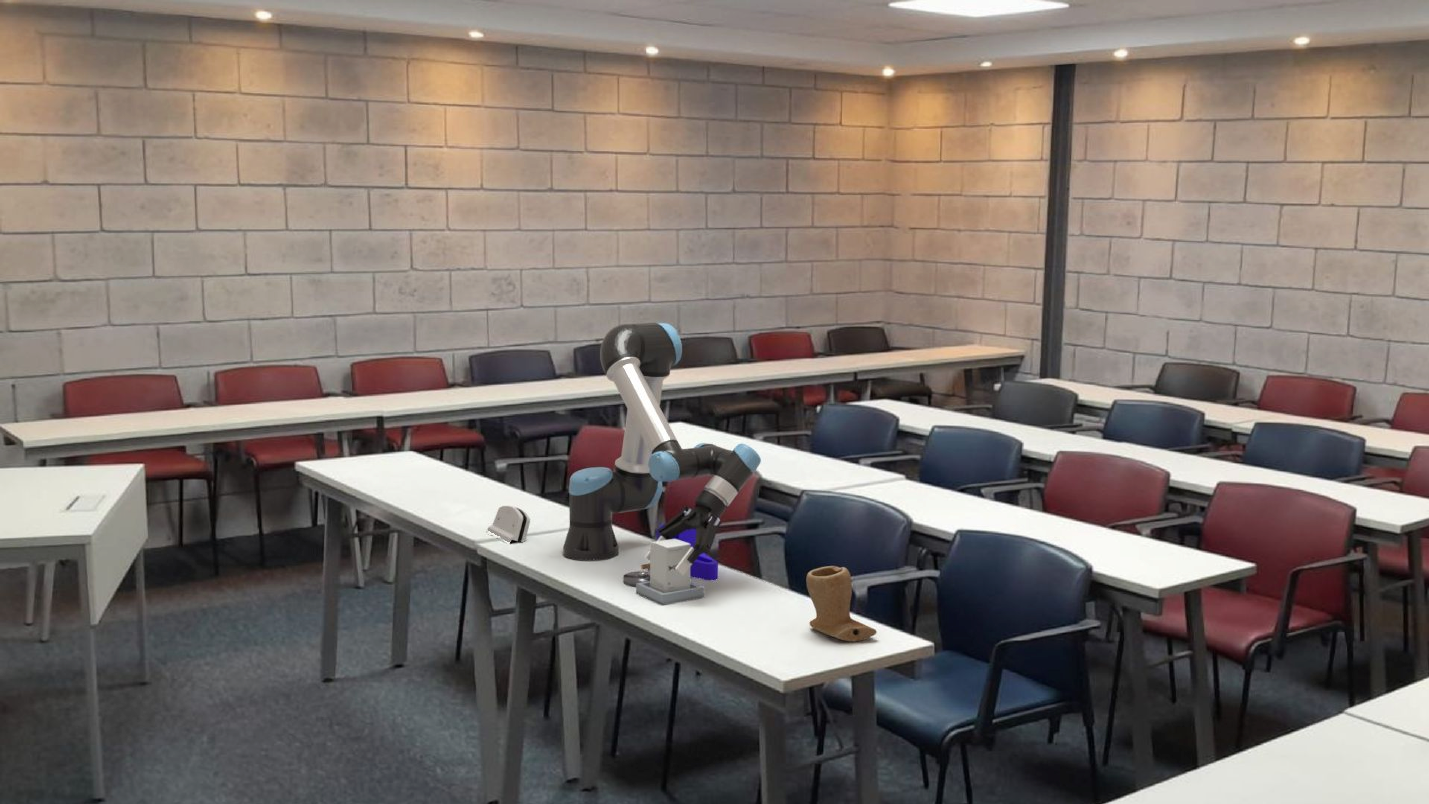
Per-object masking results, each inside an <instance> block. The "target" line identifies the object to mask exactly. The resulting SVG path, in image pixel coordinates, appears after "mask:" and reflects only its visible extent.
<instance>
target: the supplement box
mask: <svg viewBox="0 0 1429 804" xmlns="http://www.w3.org/2000/svg"><path fill="white" fill-rule="evenodd" d="M690 548H691V544H689V543H686V542H684V541H680V540H677V539H669V540H662V541H657V540H656V541H651V542H650V549H651V550H650V549H649V550H650V561H649V562H650V588H652V589H655V590H657V591H659V592H662V593H669V592H675V591H680V590H686V589H690V582H691V577H690V568H689V569H688V570H687V572H686V573H685V574H684V576H683V575H681V574H680V573H679V572H678V571H677V570H676V569H675V568H676V566H677V565H678V564H679V562H680V561H681V560H682V558H683V557H684V556H685V554H686V553H687V552H688V551H689V549H690Z"/></svg>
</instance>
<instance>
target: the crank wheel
mask: <svg viewBox="0 0 1429 804" xmlns="http://www.w3.org/2000/svg"><path fill="white" fill-rule="evenodd" d="M640 569H641V570H642V571H641V570H638V571H630V572H627V573H625V574H623V578H622V581H623V584H624V585H626V586H628V587H633V588H636V584H637V583H642V582H648V581H650V563H643V564H640Z"/></svg>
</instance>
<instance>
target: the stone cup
mask: <svg viewBox="0 0 1429 804" xmlns="http://www.w3.org/2000/svg"><path fill="white" fill-rule="evenodd" d="M852 584H853V583H852V576H851V573H850V571H849V569H848V568H846V567H844V566H842V567H839V566H835V565H830V566H821V567H818V568H814V569H812V570H810V571H809V572H808V573H807V574H806V589H807V591H808V594H809V597H810V599H811V602H812V604H813V607H814V610H815V613H816V616H815V618H814V619H811V620H810V621H809V626H810V627H811V628H813V629H814V630H816V631H817V632H821V633H822V634H825V635H828V636H829V637H830V636H831V637H833V638H835V639H839V640H842V641H847V642H860V641H864V640H867V639H870V638H871V637H873V636H875V635H876V634H877V633H878V630H876V629H875V628H873V627H870V626H868V625H866V624H864V623H863V622H860V621H857V620H855V619H853V618H852V617H851V613H850V609H851V608H850V607H851V600H852V594H853V588H852V587H853V585H852Z"/></svg>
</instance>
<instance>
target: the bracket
mask: <svg viewBox="0 0 1429 804" xmlns="http://www.w3.org/2000/svg"><path fill="white" fill-rule="evenodd" d="M664 524H665V523H663V524H661V525H660V526H659V527H658V528H657V531H656V540H657V539H658V538H659V537H660V534H659V532H658V529H659V528H660V527H662V526H663V525H664ZM663 531H664V530H663ZM695 538H696V529H690V530H688V529H687V530H685V531H684V532H682V533H680V534H678V535H677V536H675V537H673V538H672V539H677V540H680V541H684V542H686V543H689V544H691V547H693V546H694V544H695ZM693 548H694V547H693ZM694 549H695V548H694ZM694 577H695V579H699V578H700V580H703V581H704V580H705V581H717V580H718V579H719V561H717V560H715V559H714V558H713V557H711V556H709V555H708V554H706V553H703V554H700V555H699V557H698V558H697V559H696V560H695V562H694V563H693V564H692V565H691V566H690V578H694ZM716 579H717V580H716Z"/></svg>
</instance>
